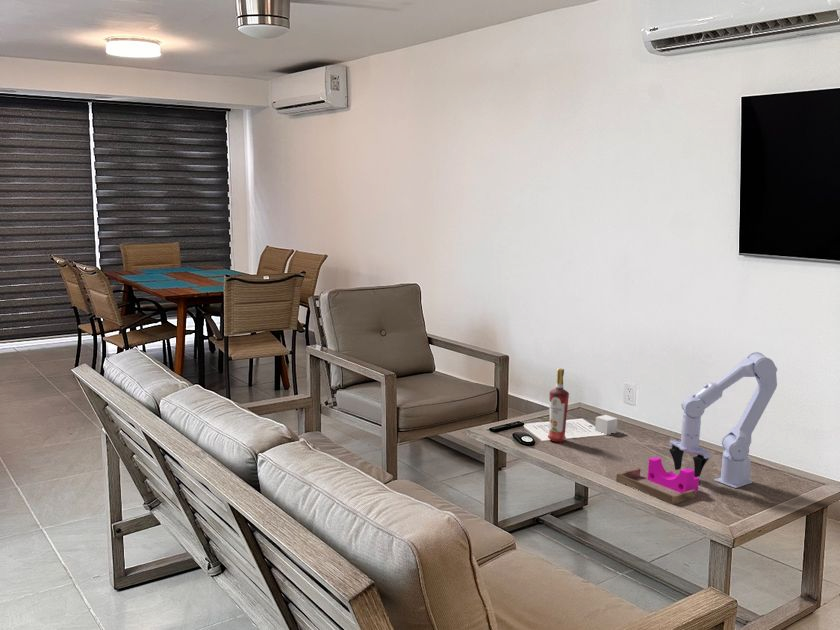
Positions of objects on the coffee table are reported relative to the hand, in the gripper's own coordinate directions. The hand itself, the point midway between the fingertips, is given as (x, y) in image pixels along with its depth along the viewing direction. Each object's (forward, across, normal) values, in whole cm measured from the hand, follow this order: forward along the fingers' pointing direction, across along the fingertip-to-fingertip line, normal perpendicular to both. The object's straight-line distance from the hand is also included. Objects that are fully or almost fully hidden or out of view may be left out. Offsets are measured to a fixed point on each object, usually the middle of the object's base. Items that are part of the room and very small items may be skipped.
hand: (687, 472), depth 256 cm
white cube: (+3, -50, +16) cm, 53 cm away
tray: (+2, 0, -16) cm, 17 cm away
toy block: (+3, +1, -8) cm, 9 cm away
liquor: (+3, -52, -9) cm, 53 cm away
